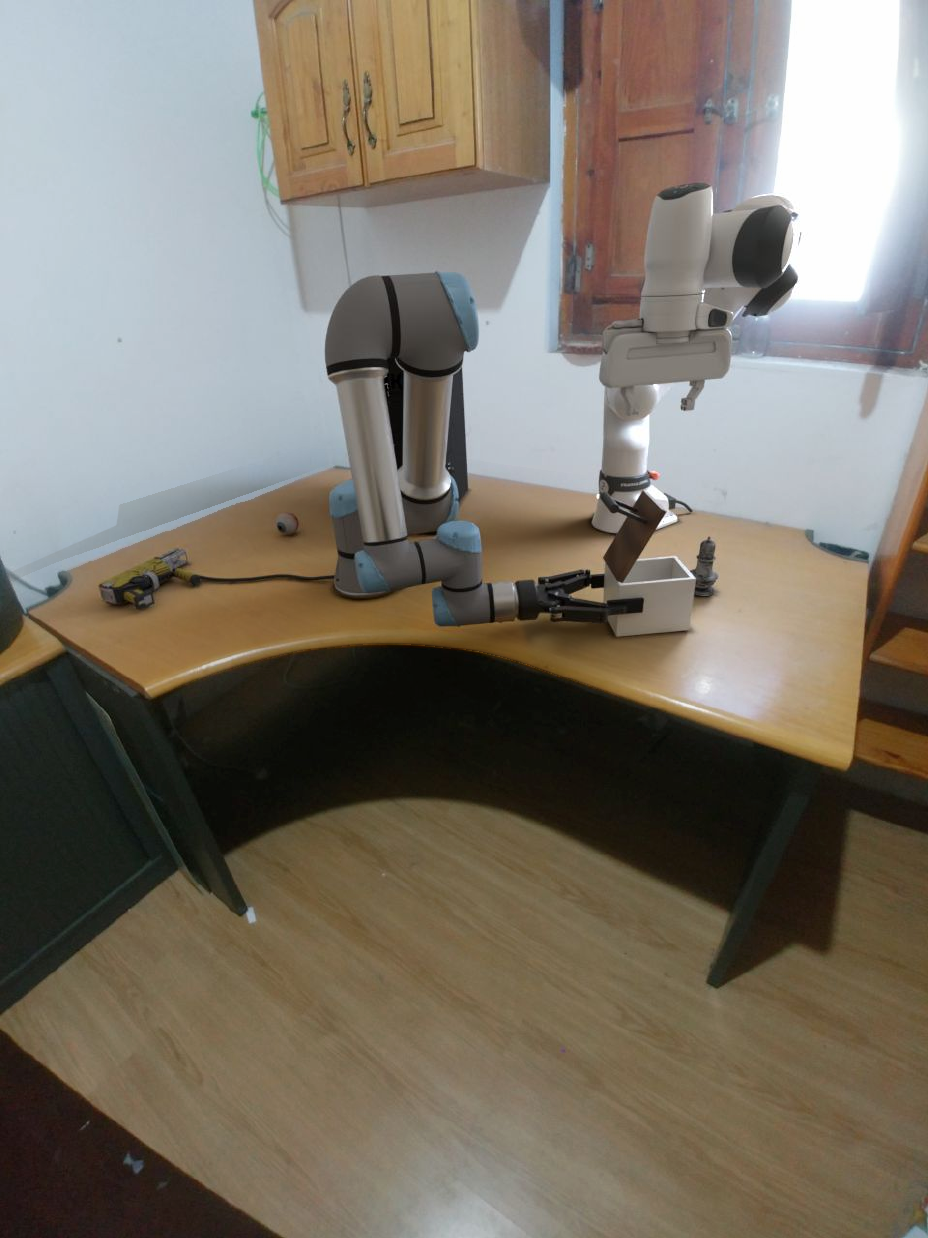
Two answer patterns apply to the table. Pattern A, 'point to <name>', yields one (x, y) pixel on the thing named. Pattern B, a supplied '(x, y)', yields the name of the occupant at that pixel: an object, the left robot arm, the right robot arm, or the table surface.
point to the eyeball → (287, 523)
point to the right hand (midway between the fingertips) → (659, 412)
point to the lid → (631, 532)
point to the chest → (653, 596)
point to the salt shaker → (705, 569)
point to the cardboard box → (455, 429)
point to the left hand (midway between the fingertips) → (633, 591)
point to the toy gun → (146, 580)
